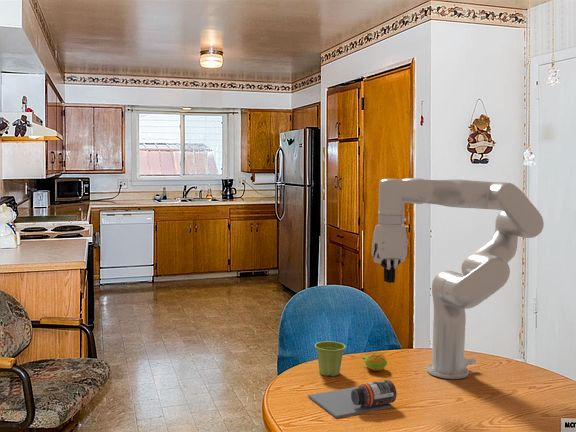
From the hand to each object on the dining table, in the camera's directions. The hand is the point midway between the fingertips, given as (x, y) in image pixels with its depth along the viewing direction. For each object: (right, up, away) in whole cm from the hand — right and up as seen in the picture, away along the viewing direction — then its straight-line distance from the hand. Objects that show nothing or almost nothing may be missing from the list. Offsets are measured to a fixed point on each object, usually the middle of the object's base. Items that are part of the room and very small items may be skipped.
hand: (389, 281), depth 174 cm
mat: (-14, -30, -18) cm, 38 cm away
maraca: (-3, -29, +10) cm, 30 cm away
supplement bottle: (-2, -27, -19) cm, 33 cm away
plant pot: (-17, -29, +5) cm, 34 cm away
